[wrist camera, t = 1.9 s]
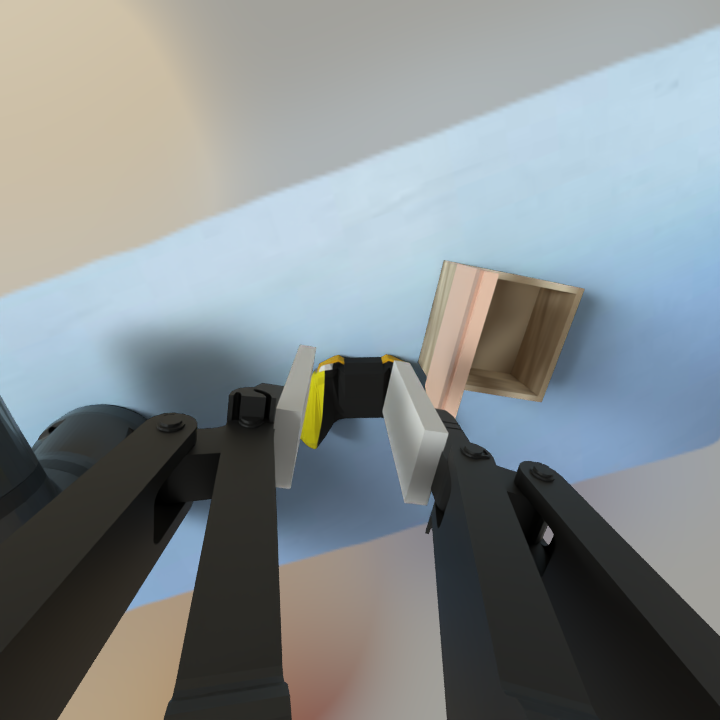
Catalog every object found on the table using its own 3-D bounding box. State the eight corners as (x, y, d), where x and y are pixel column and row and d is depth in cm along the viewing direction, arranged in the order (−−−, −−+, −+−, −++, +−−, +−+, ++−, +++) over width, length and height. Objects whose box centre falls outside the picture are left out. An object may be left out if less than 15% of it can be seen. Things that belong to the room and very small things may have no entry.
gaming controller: (420, 426, 46) (425, 351, 43) (430, 450, 41) (436, 367, 38) (302, 429, 46) (298, 353, 42) (297, 453, 41) (292, 369, 37)
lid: (432, 387, 36) (422, 385, 36) (466, 265, 32) (455, 263, 32) (445, 450, 25) (431, 447, 25) (499, 274, 21) (482, 270, 21)
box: (418, 362, 43) (432, 384, 37) (443, 260, 40) (464, 264, 33) (511, 377, 45) (541, 402, 38) (545, 280, 41) (584, 288, 34)
